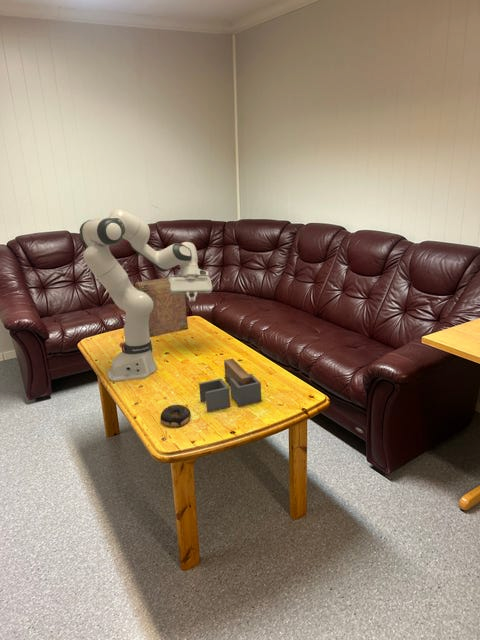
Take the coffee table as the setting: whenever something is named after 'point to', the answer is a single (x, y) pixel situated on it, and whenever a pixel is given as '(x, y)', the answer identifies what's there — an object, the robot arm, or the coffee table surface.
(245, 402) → the end cap
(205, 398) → the end cap
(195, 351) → the coffee table surface
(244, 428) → the coffee table surface
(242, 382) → the slat
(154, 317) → the book
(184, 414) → the donut
